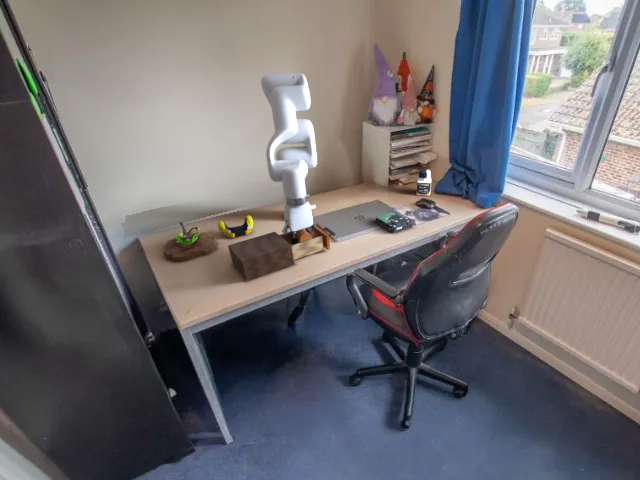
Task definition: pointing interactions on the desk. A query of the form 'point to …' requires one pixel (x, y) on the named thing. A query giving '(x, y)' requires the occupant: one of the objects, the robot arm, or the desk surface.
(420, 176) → the medicine bottle
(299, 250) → the drawer
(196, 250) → the plant
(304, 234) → the brown rounded block
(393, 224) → the disk drive
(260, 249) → the cabinet
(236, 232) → the gaming controller
